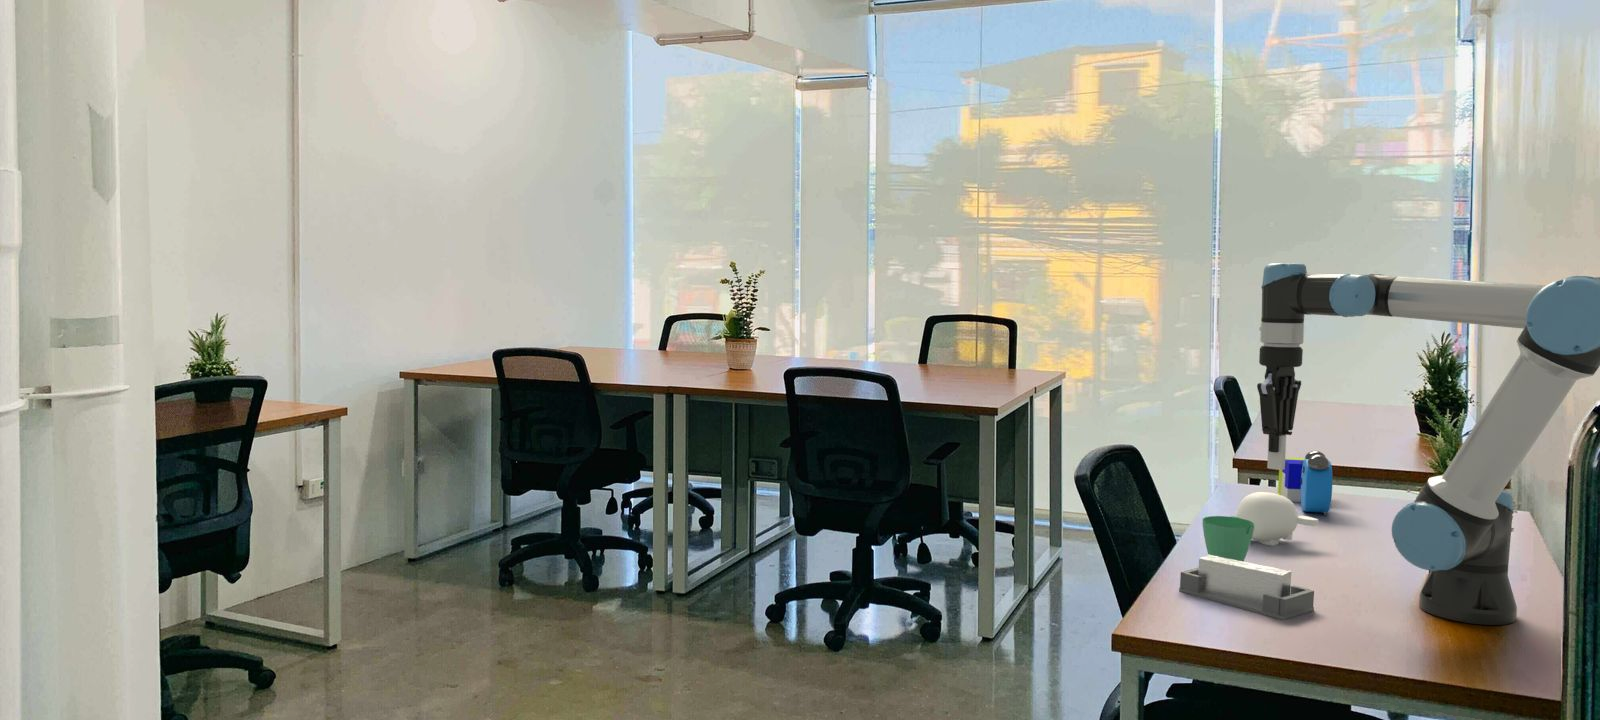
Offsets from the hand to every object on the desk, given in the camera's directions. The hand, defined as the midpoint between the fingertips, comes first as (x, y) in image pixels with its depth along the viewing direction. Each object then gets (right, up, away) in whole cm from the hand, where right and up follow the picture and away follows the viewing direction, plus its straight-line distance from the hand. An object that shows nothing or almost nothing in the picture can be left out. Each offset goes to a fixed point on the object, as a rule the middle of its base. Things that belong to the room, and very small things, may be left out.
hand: (1275, 468), depth 220 cm
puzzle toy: (+42, -16, +86) cm, 97 cm away
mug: (-4, -22, +15) cm, 27 cm away
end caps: (-9, -23, -8) cm, 26 cm away
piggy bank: (+15, -20, +37) cm, 44 cm away
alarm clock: (+38, -18, +69) cm, 81 cm away
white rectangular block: (-9, -23, -8) cm, 26 cm away
